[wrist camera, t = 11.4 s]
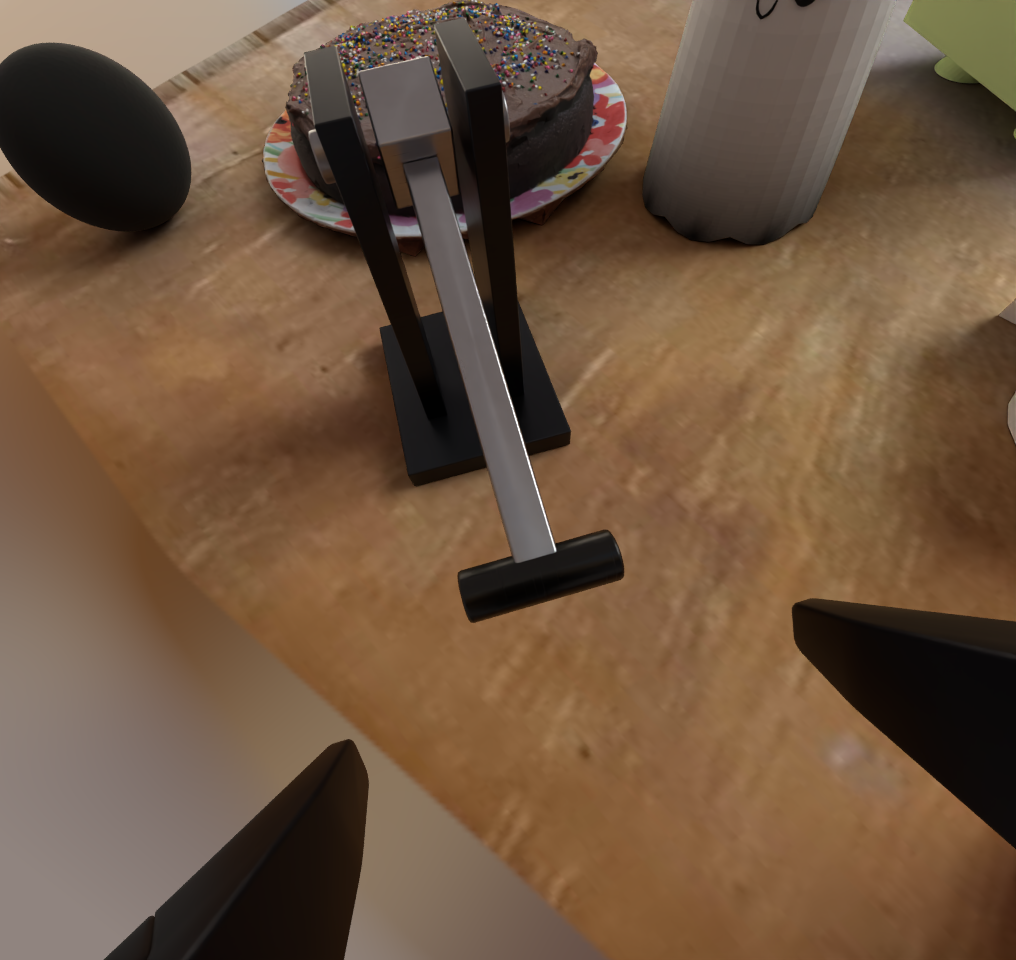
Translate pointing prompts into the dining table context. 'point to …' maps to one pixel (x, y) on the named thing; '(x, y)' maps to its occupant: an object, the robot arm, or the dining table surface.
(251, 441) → the dining table surface
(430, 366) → the bracket
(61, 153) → the decorative ball
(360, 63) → the chocolate cake
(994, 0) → the container
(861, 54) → the toy
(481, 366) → the lever
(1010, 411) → the toilet paper
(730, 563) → the dining table surface
